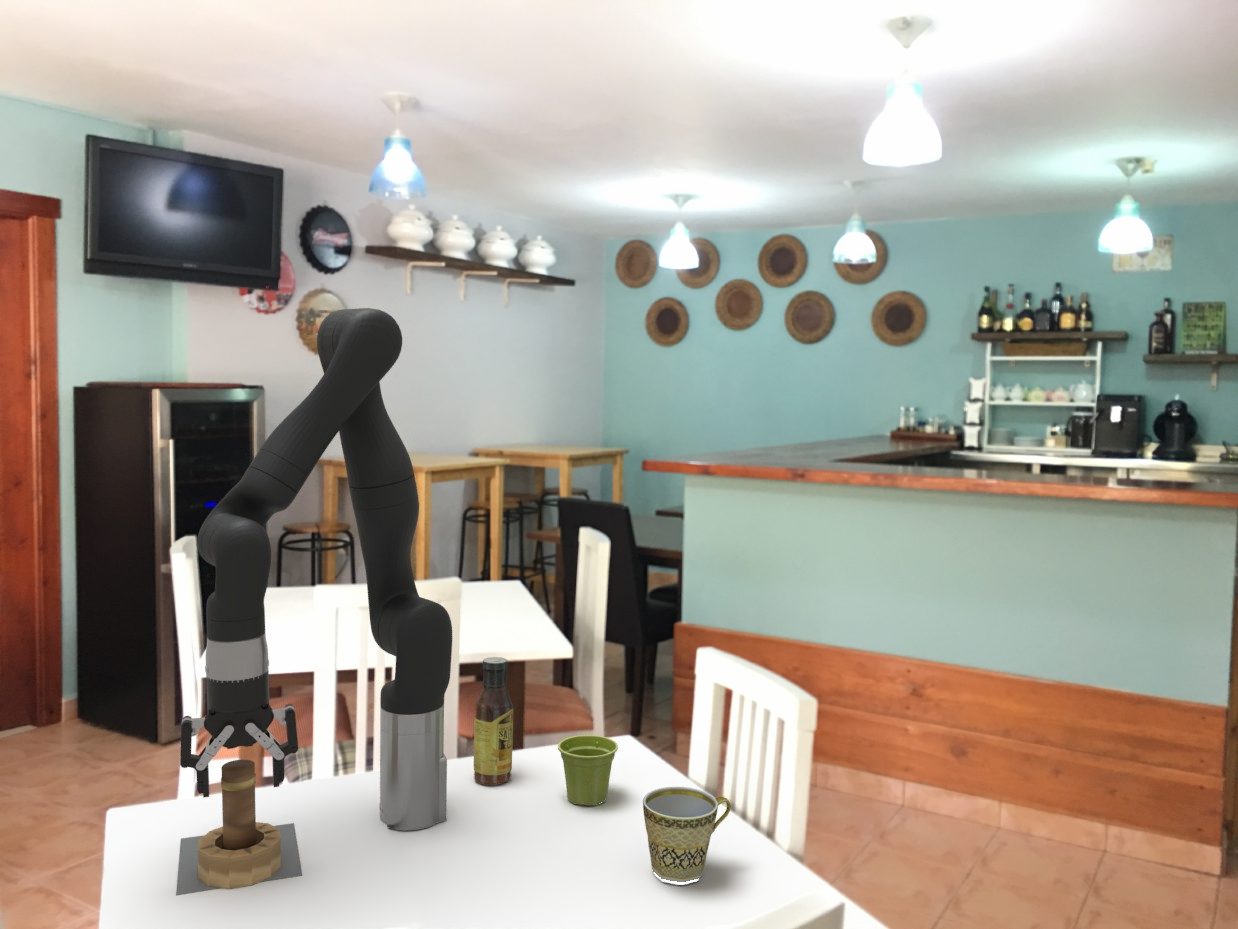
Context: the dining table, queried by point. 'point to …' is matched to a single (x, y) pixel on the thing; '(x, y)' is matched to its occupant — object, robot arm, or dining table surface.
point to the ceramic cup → (680, 830)
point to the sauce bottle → (493, 725)
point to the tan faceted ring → (239, 859)
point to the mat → (191, 884)
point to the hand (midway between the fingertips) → (241, 790)
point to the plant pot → (587, 767)
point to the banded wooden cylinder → (238, 804)
